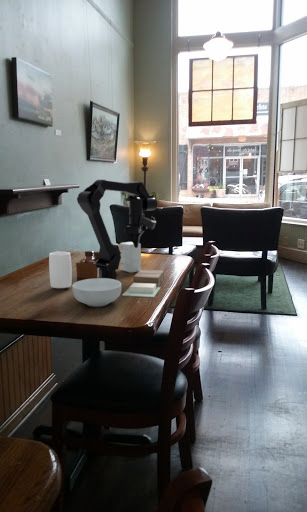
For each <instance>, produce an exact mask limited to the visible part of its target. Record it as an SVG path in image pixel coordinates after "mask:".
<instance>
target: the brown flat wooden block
mask: <svg viewBox="0 0 307 512" xmlns="http://www.w3.org/2000/svg"><path fill="white" fill-rule="evenodd" d="M164 280H165V270H164V269H161V270H160V269H141V270H140V271H137V273H136V274H135V275H133V283H150V284H156V287H161V285H162V284H163V282H164Z"/></svg>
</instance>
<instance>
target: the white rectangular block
mask: <svg viewBox="0 0 307 512" xmlns="http://www.w3.org/2000/svg"><path fill="white" fill-rule="evenodd" d="M129 287H130V292H148V293H154V291H155V290H156V284H150V283H134V282H133V283H132V284H131V285H130V286H129Z"/></svg>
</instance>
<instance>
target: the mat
mask: <svg viewBox="0 0 307 512" xmlns="http://www.w3.org/2000/svg"><path fill="white" fill-rule="evenodd" d="M161 288H162V287H161V286H159V287H156V290H155V291H154V293H148V292H130V286H129V287H128V288H127V289H126V290H125V291H124V293H122V295H121V296H122V297H134V298H135V297H138V298H140V297H141V298H155V296H156V295H157V294H158V292H159V291H160V289H161Z"/></svg>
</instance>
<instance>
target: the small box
mask: <svg viewBox="0 0 307 512" xmlns="http://www.w3.org/2000/svg"><path fill="white" fill-rule="evenodd" d="M119 245H120V246H119V250H120V252H121V254H120V255H121V259H120V270H121V271H124V272H127V273H135V272H137V273H138V272H139V271H140V270H142V253H141V252H142V249H141V248H142V247H141V246H142V244H141V243H140V242H139V245H138V248H135V246H134V244H133V242H132V241H126V242H120V243H119Z"/></svg>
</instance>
